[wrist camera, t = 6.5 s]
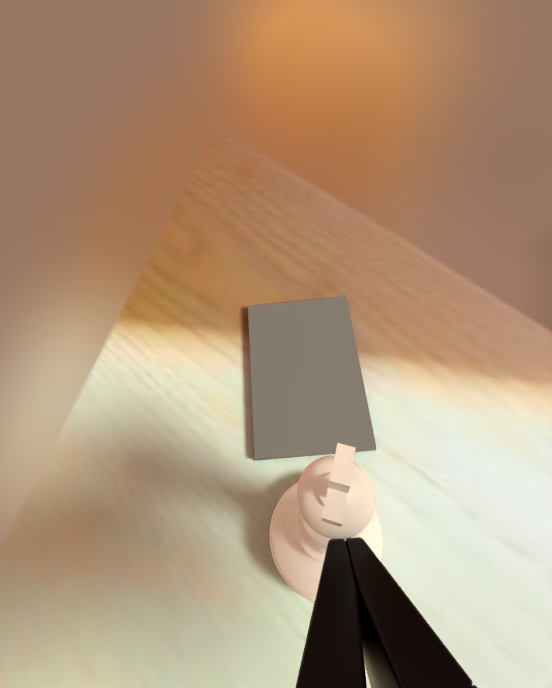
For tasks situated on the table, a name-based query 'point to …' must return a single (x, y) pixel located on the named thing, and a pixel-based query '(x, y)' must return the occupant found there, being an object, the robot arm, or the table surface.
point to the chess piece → (322, 518)
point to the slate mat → (306, 380)
